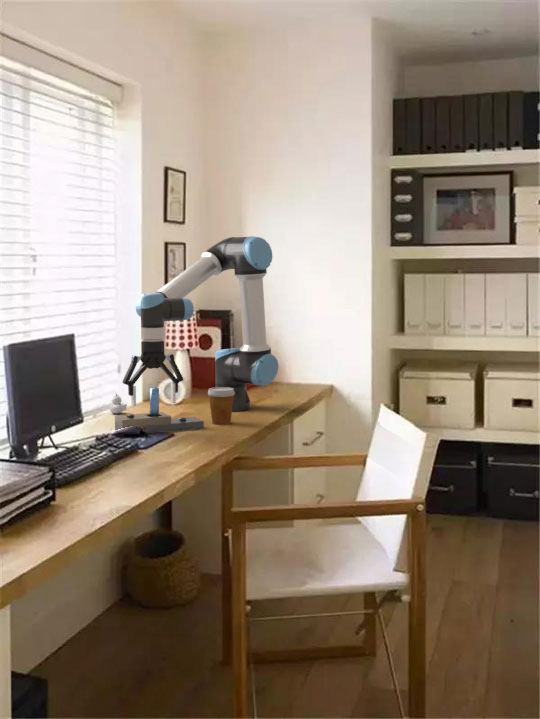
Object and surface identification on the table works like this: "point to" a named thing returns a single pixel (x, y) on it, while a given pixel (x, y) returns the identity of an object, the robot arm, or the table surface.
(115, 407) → the rubber duck
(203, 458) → the table surface
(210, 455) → the table surface
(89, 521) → the table surface
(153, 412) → the pin
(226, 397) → the disposable coffee cup
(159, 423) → the grey fixture block
